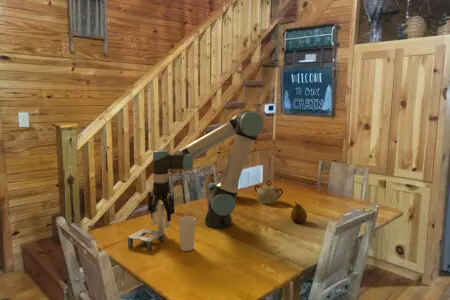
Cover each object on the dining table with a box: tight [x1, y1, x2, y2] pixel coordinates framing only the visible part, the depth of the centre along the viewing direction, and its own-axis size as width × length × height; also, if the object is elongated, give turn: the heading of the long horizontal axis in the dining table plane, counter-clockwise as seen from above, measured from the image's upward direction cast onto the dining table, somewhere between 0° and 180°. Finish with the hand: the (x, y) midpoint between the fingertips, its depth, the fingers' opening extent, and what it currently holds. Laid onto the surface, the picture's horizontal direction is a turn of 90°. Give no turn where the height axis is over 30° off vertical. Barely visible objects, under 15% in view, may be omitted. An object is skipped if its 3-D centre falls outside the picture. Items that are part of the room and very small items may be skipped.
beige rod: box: [157, 202, 165, 233], centre depth 184 cm, size 3×3×16 cm
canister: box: [213, 170, 240, 192], centre depth 253 cm, size 18×18×21 cm
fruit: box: [290, 201, 308, 224], centre depth 207 cm, size 9×9×12 cm
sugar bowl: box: [253, 180, 284, 205], centre depth 243 cm, size 20×15×15 cm
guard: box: [127, 228, 165, 252], centre depth 173 cm, size 12×12×5 cm
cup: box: [178, 215, 197, 252], centre depth 168 cm, size 8×8×14 cm
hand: (161, 225), depth 185 cm, fingers open, 7 cm apart
